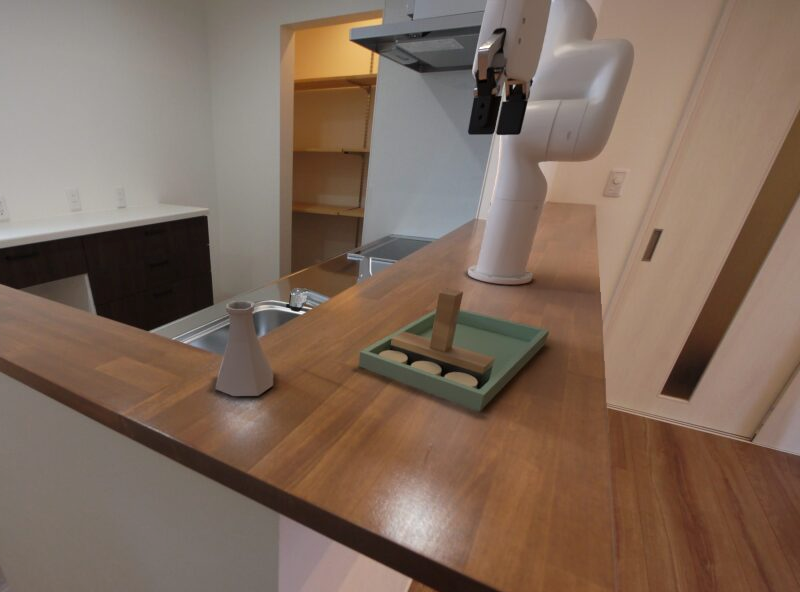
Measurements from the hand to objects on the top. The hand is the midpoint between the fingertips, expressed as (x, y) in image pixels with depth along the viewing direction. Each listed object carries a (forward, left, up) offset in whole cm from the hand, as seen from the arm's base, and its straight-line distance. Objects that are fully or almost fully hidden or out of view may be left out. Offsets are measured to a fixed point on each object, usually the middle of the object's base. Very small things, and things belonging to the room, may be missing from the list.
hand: (494, 134), depth 57 cm
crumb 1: (+23, +2, -26) cm, 35 cm away
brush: (+20, +6, -26) cm, 33 cm away
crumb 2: (+23, +6, -26) cm, 35 cm away
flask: (+38, -10, -26) cm, 47 cm away
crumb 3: (+23, +10, -26) cm, 36 cm away
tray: (+14, +6, -26) cm, 30 cm away
